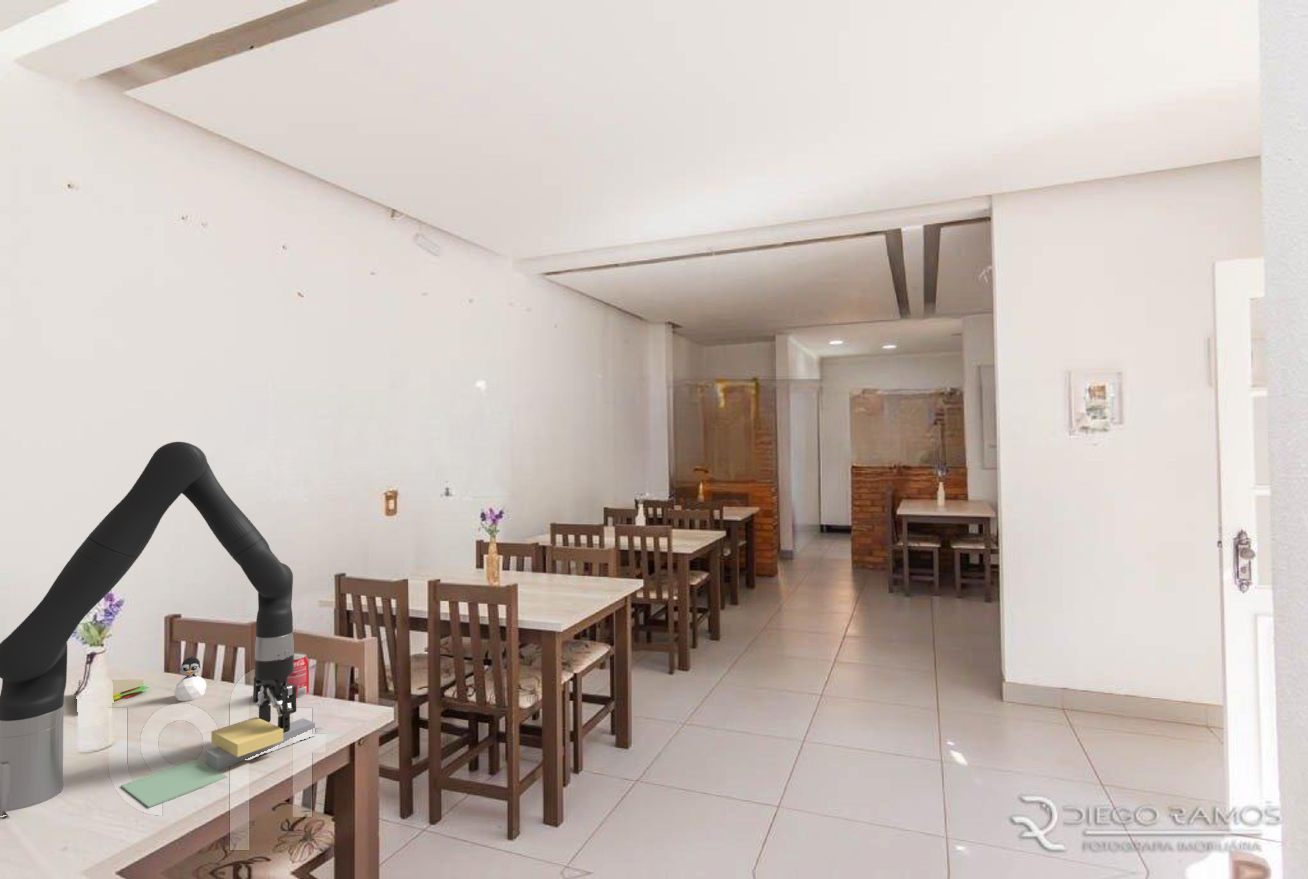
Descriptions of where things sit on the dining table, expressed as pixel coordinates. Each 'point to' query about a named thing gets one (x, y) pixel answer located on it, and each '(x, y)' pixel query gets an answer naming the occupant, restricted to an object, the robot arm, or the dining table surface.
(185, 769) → the mat
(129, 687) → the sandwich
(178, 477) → the robot arm
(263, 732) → the yellow kitchen sponge
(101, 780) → the dining table surface
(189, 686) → the penguin
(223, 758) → the rail
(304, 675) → the soda can
